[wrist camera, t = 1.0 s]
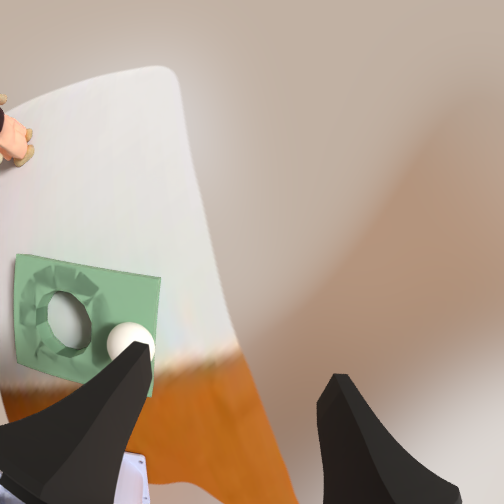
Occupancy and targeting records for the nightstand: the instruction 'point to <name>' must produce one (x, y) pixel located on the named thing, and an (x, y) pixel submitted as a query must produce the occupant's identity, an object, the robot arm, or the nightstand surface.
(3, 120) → the grandmother figurine
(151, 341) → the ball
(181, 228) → the nightstand surface
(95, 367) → the green
